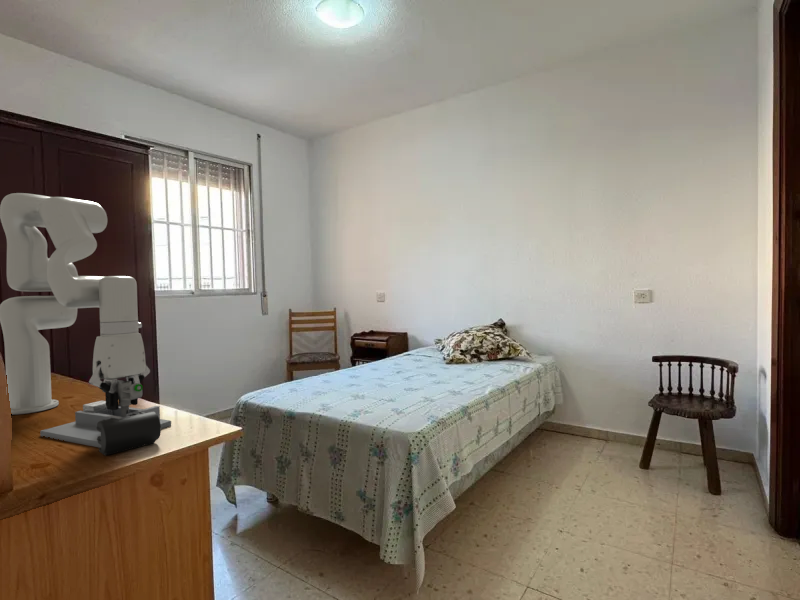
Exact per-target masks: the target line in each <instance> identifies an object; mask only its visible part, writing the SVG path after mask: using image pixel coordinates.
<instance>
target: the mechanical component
mask: <svg viewBox="0 0 800 600" xmlns="http://www.w3.org/2000/svg"><path fill="white" fill-rule="evenodd" d="M143 389H144V388H143V385H142V383H134V384H132V385H131V381H127V380H123V379H122V380H120V379H117V383H116V390H115V392H118V405H119V407H121V417H126V414H128V413H129V407H130V406H131V401H130V400H133V399H137V398H138V399H140V398H142V397H143Z"/></svg>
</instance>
